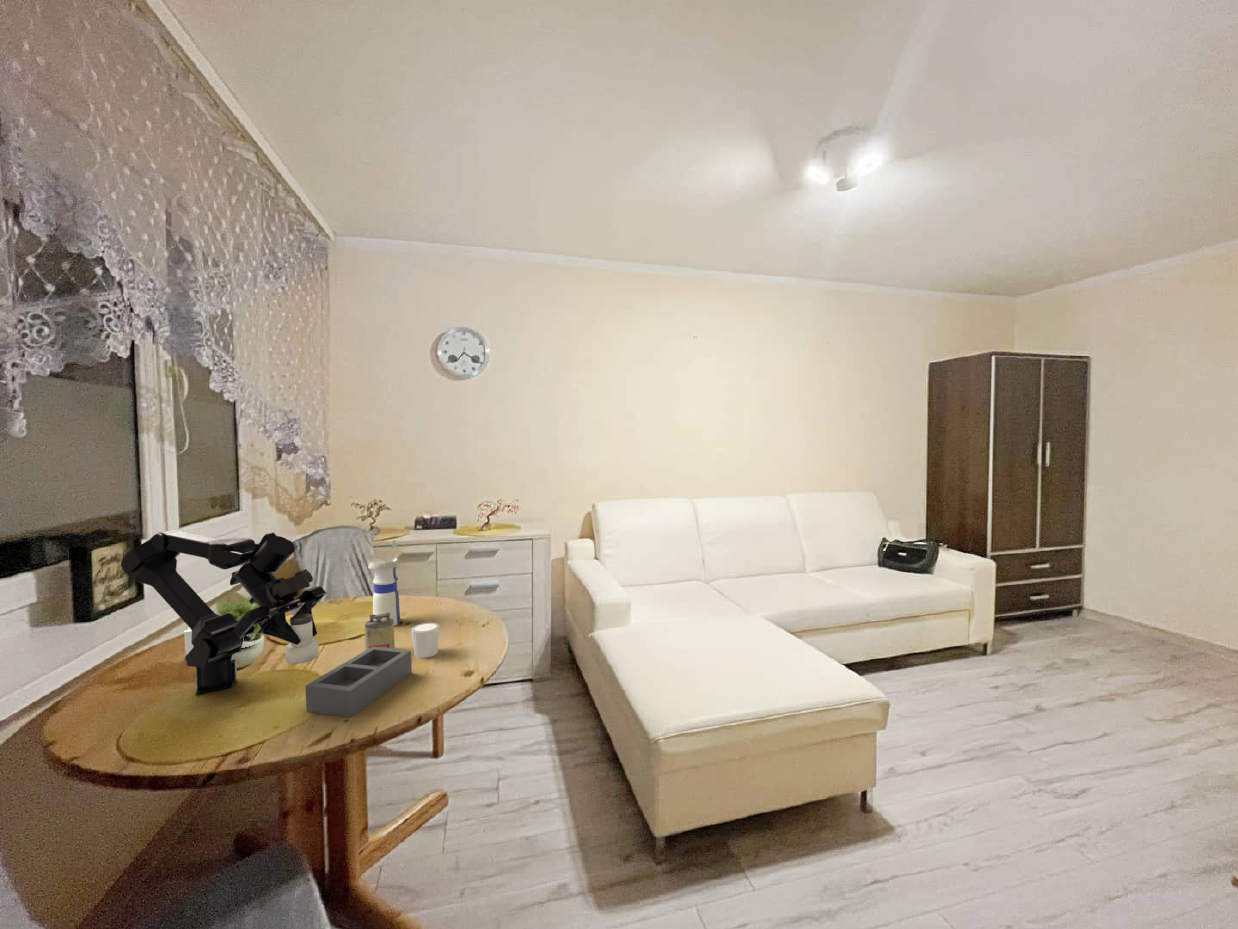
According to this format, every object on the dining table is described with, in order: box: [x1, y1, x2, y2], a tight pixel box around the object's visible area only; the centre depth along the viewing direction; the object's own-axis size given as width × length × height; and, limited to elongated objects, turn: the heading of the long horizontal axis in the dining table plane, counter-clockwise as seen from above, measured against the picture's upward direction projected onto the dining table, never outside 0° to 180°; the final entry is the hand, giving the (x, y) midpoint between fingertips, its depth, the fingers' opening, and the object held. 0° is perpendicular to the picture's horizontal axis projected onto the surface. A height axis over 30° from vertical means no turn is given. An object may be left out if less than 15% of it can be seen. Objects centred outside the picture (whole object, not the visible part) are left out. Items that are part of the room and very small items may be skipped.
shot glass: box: [411, 622, 440, 659], centre depth 130 cm, size 7×7×7 cm
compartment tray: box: [305, 647, 413, 718], centre depth 111 cm, size 20×11×6 cm, turn 167°
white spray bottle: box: [367, 539, 401, 627], centre depth 151 cm, size 8×9×25 cm
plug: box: [285, 613, 320, 665], centre depth 109 cm, size 6×6×9 cm
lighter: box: [364, 612, 396, 651], centre depth 132 cm, size 7×4×10 cm, turn 112°
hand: (307, 639), depth 108 cm, fingers closed on plug, 4 cm apart
